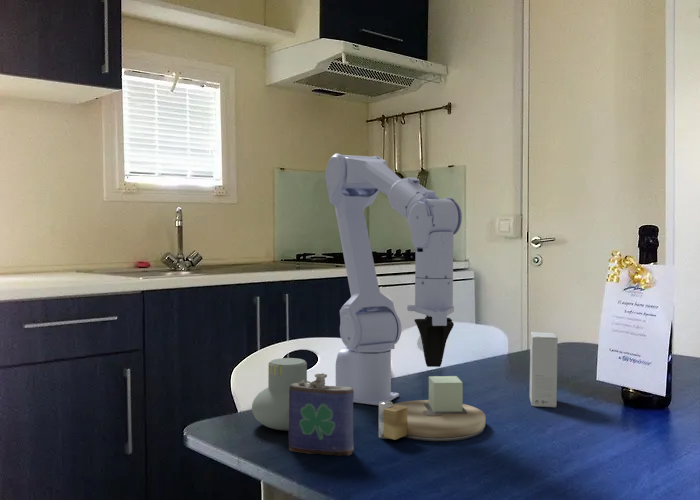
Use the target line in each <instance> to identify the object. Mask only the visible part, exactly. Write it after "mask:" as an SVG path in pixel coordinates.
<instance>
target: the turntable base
mask: <svg viewBox="0 0 700 500" xmlns="http://www.w3.org/2000/svg"><path fill="white" fill-rule="evenodd" d="M393 404H394V403H393V402H392V401H381V402H379V405H378V438H379V439H381V440H388V439H389V440H391V439H390V438H386V437H384V409H386V408H389V407H392V406H393ZM484 430H485V427H484V428H483V429H482V430H481V431H479V432H476V433H474V434H470V435H465V436H459V437H446V438H433V437H420V436H412V435H406V436H403V437H402V438H404V439H409V440H416V441H423V442H424V441H425V442H426V441H427V442H454V441H455V442H456V441H462V440H467V439H471V438H475V437H477V436H479V435H480V434H482V433H483V432H484Z"/></svg>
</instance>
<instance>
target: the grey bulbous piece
mask: <svg viewBox="0 0 700 500" xmlns="http://www.w3.org/2000/svg"><path fill="white" fill-rule="evenodd" d="M307 370H308V363H307V361H306V360H305V359H304V358H303V359H302V358H295V357H283V358H282V357H280V358H274V359H272V360H270V361H269V363H268V382H267V383H268V387H266V388H265V389H263V390H262V391H260V392H258V394H257V395H256V396H255V398H254V399H253V401H252V404H251V413H252V415H253V417H254V418H255V419H256V420H257V421H258V422H259V423H260V425H261V424H262V425H263V426H264V427H267V428H269V429H272V430H276V431H285V432H289V388H290V385H291V384H294V383H299V382H301V381H303V380H305V382H304V383H307V381H308V374H307V373H308V371H307Z"/></svg>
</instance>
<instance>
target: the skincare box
mask: <svg viewBox="0 0 700 500" xmlns="http://www.w3.org/2000/svg"><path fill="white" fill-rule="evenodd" d="M529 342H530V344H529V345H530V347H529V356H530V357H529V400H530V405H531V406H532V407H545V408H556V407H557V403H558V401H557V399H558V398H557V396H558V391H557V390H558V387H557V386H558V336H557V335H556V334H555V332H544V331H543V332H540V331H531V332H530V341H529Z"/></svg>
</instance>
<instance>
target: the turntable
mask: <svg viewBox="0 0 700 500" xmlns="http://www.w3.org/2000/svg"><path fill="white" fill-rule="evenodd" d="M485 427H486V414H485V413H484V411H482V410H481V409H479V408H477V407H475V406H472V405H469V404H466V403H463V411H455V412H434V411H433V410H432V408H431V407H430V405H429V399H418V400H405V401H400V402H395V403H393V406H392V407H389V408H386V409H384V437H386V438H390V439H389V440H394V441H395V440H399V439H400V438H404V437H403V436H406V435H412V436H420V437H433V438H446V437H459V436H465V435H470V434H474V433H476V432H479V431H481V430H482V429H483V428H484V429H485Z"/></svg>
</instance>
